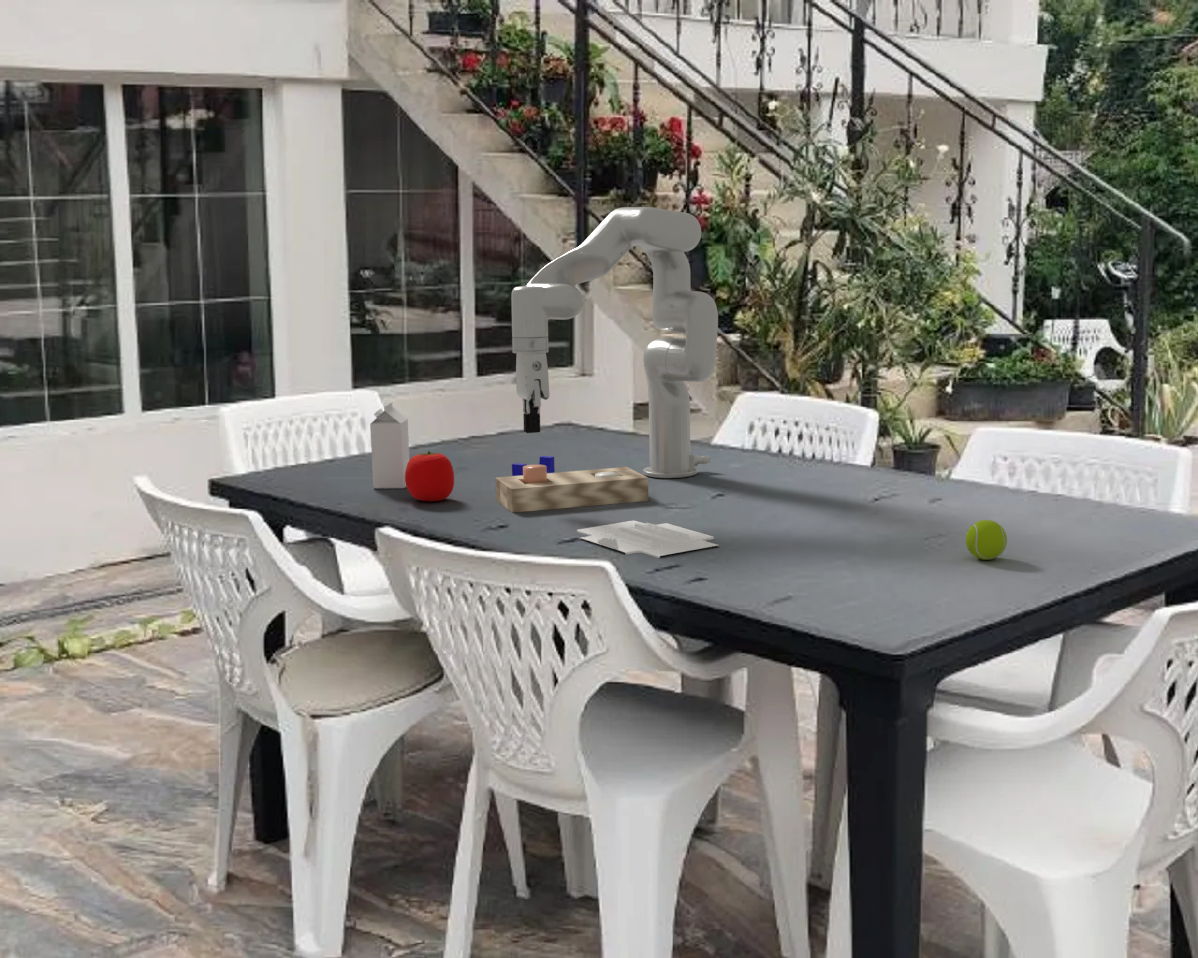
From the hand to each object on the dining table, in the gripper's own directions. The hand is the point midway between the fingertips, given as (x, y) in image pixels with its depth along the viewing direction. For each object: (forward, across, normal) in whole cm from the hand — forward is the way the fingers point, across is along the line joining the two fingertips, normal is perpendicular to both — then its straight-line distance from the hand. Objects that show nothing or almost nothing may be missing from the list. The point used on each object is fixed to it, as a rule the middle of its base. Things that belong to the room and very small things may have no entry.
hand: (532, 432), depth 322 cm
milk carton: (+16, +33, +24) cm, 44 cm away
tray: (+16, -41, -11) cm, 45 cm away
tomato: (+16, +13, +19) cm, 28 cm away
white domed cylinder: (+15, 0, -17) cm, 22 cm away
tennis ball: (+15, -80, -61) cm, 101 cm away
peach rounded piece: (+12, 0, -1) cm, 12 cm away
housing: (+15, 0, -9) cm, 18 cm away
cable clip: (+16, +21, -5) cm, 27 cm away
